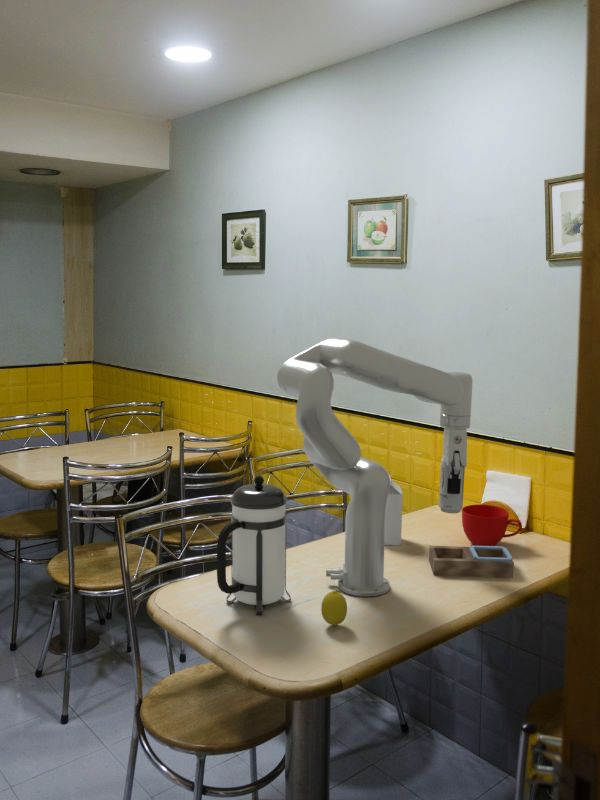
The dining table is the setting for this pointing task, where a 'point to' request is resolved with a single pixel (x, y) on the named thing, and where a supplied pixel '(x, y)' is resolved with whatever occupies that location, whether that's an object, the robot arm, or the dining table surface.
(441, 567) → the block
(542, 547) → the dining table surface
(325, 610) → the lemon
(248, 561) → the coffee press
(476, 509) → the ceramic cup
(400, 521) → the milk carton
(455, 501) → the energy drink can
